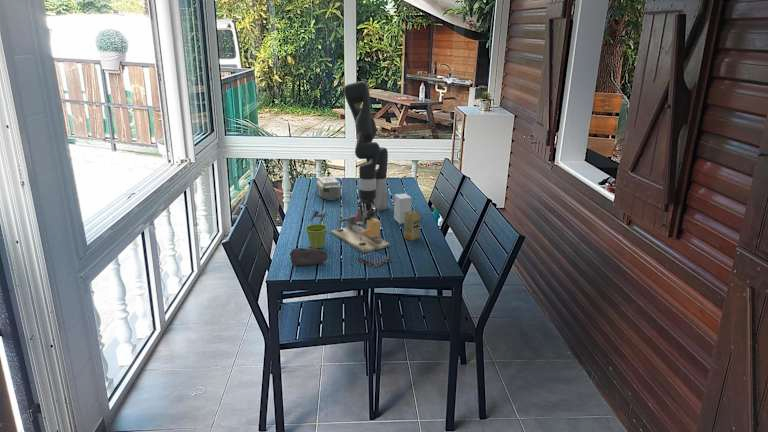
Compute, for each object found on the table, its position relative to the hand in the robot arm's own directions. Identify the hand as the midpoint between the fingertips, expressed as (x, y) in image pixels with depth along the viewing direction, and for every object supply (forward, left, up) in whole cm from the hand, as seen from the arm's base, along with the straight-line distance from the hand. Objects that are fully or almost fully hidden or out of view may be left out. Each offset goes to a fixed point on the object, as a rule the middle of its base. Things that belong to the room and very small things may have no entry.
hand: (367, 224), depth 229 cm
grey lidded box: (-17, -70, -8) cm, 72 cm away
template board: (+3, -2, -7) cm, 8 cm away
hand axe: (-10, -29, -8) cm, 32 cm away
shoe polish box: (-18, +9, -7) cm, 22 cm away
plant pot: (+23, -5, -7) cm, 24 cm away
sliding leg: (+2, +5, -5) cm, 7 cm away
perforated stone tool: (+34, +10, -8) cm, 36 cm away
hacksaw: (+6, -35, -8) cm, 36 cm away
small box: (-28, -12, -7) cm, 32 cm away
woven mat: (+10, +21, -8) cm, 24 cm away
